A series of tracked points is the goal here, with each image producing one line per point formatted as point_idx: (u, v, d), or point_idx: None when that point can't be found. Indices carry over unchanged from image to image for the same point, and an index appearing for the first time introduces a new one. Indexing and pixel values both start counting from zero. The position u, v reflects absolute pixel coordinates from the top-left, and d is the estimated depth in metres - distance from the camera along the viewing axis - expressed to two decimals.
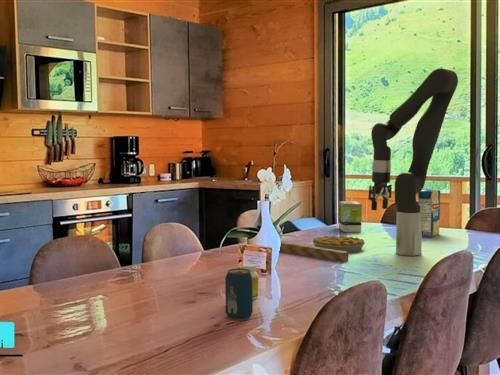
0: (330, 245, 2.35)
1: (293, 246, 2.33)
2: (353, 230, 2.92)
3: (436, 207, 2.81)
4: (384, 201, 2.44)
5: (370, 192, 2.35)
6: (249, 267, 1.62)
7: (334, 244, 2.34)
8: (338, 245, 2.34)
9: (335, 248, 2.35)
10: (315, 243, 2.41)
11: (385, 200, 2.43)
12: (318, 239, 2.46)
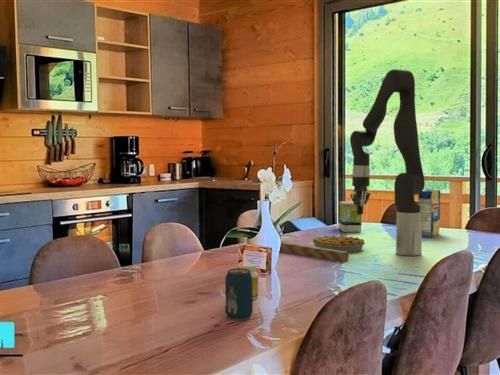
0: (330, 245, 2.35)
1: (293, 246, 2.33)
2: (353, 230, 2.92)
3: (436, 207, 2.81)
4: None
5: (353, 200, 2.52)
6: (249, 267, 1.62)
7: (334, 244, 2.34)
8: (338, 245, 2.34)
9: (335, 248, 2.35)
10: (315, 243, 2.41)
11: None
12: (318, 239, 2.46)
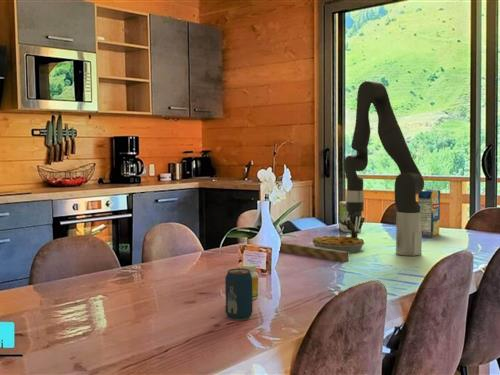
0: (330, 245, 2.35)
1: (293, 246, 2.33)
2: None
3: (436, 207, 2.81)
4: None
5: (347, 225, 2.50)
6: (249, 267, 1.62)
7: (334, 244, 2.34)
8: (338, 245, 2.34)
9: (335, 248, 2.34)
10: (315, 243, 2.41)
11: None
12: (318, 239, 2.45)
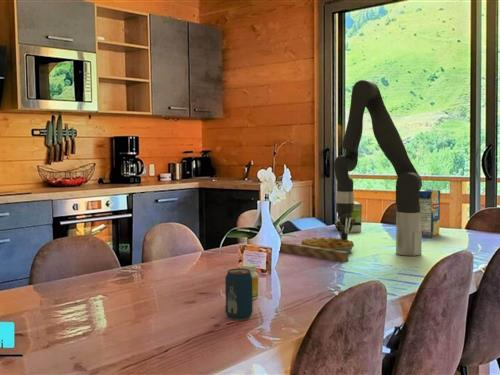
0: None
1: (293, 246, 2.33)
2: (353, 230, 2.92)
3: (436, 207, 2.81)
4: None
5: (337, 227, 2.44)
6: (249, 267, 1.62)
7: (323, 246, 2.29)
8: (327, 247, 2.28)
9: None
10: None
11: None
12: (306, 241, 2.40)
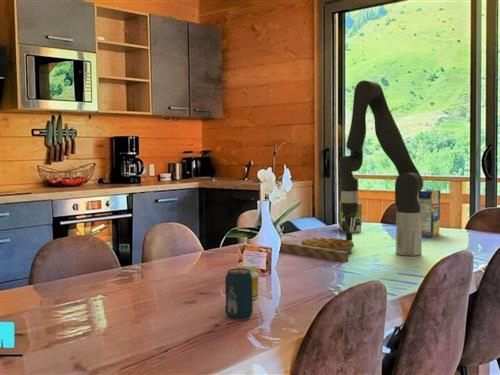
0: None
1: (293, 246, 2.33)
2: None
3: (436, 207, 2.81)
4: None
5: (342, 226, 2.46)
6: (249, 267, 1.62)
7: (323, 246, 2.29)
8: (327, 247, 2.28)
9: None
10: None
11: None
12: (307, 241, 2.40)
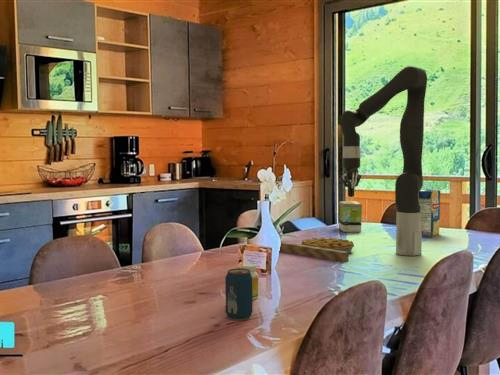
0: None
1: (293, 246, 2.33)
2: (353, 230, 2.92)
3: (436, 207, 2.81)
4: None
5: (344, 182, 2.46)
6: (249, 267, 1.62)
7: (323, 246, 2.29)
8: (327, 247, 2.28)
9: None
10: None
11: None
12: (307, 241, 2.40)
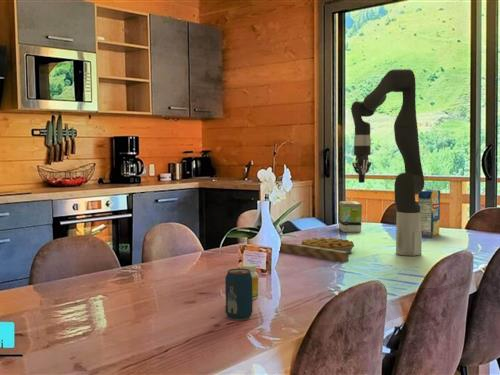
0: None
1: (293, 246, 2.33)
2: (353, 230, 2.92)
3: (436, 207, 2.81)
4: None
5: (355, 168, 2.61)
6: (249, 267, 1.62)
7: (323, 246, 2.29)
8: (327, 247, 2.28)
9: None
10: None
11: None
12: (307, 241, 2.40)
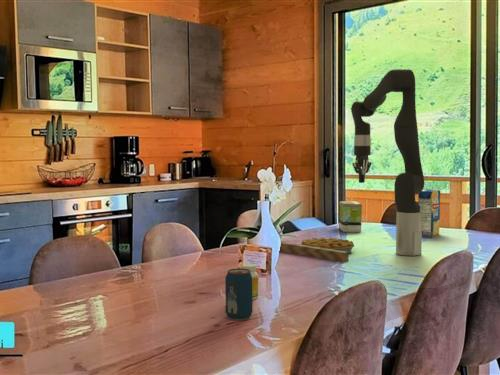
0: None
1: (293, 246, 2.33)
2: (353, 230, 2.92)
3: (436, 207, 2.81)
4: None
5: (355, 168, 2.61)
6: (249, 267, 1.62)
7: (323, 246, 2.29)
8: (327, 247, 2.28)
9: None
10: None
11: None
12: (307, 241, 2.40)
